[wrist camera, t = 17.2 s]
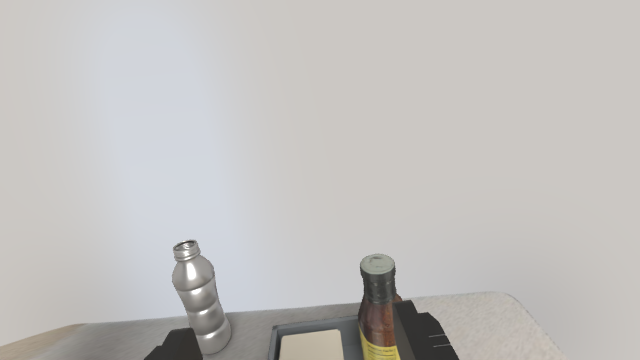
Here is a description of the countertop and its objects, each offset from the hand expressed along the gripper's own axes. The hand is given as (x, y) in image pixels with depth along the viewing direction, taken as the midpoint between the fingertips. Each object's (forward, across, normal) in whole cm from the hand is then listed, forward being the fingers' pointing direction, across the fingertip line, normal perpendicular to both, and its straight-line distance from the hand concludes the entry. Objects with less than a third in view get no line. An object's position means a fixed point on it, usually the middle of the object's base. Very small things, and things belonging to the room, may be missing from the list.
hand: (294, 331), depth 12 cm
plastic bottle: (+33, +21, +32) cm, 51 cm away
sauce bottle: (+21, -7, +31) cm, 38 cm away
